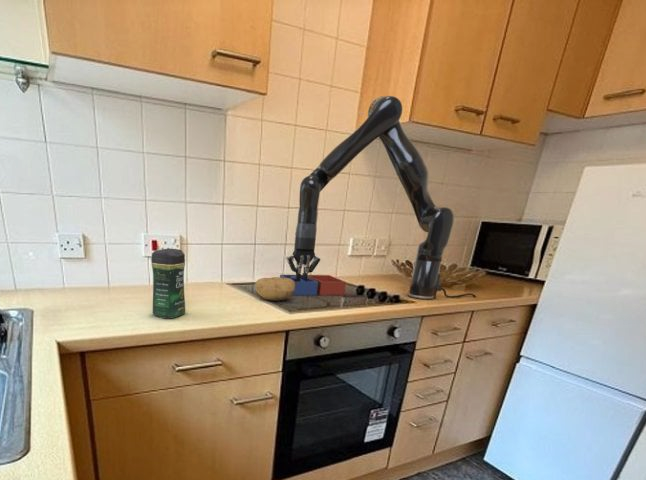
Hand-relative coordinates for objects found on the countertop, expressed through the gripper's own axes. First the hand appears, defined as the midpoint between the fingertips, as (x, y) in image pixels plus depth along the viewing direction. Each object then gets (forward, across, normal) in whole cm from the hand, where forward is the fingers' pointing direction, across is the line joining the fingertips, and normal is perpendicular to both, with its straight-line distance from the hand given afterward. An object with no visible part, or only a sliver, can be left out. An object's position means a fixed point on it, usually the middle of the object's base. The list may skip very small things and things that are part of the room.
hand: (300, 283), depth 155 cm
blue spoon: (0, 0, +4) cm, 4 cm away
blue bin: (+4, 0, +3) cm, 5 cm away
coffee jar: (+4, -52, -30) cm, 60 cm away
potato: (+4, -14, -13) cm, 20 cm away
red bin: (+4, +12, +3) cm, 13 cm away
